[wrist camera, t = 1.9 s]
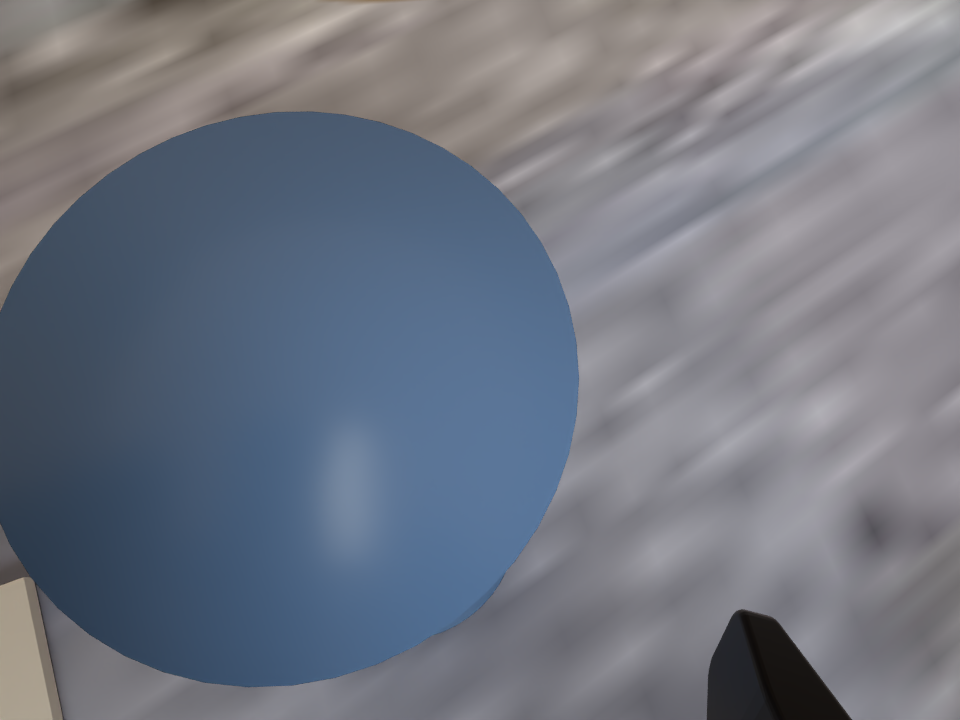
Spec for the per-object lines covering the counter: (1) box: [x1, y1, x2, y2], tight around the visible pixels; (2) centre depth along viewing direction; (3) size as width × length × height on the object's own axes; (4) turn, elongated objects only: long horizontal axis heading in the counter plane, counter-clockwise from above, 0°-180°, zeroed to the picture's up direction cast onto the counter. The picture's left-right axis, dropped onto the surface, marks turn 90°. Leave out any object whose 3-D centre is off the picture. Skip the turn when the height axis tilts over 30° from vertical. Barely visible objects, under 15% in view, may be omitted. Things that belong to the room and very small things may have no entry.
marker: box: [0, 112, 579, 687], centre depth 11 cm, size 4×4×13 cm
